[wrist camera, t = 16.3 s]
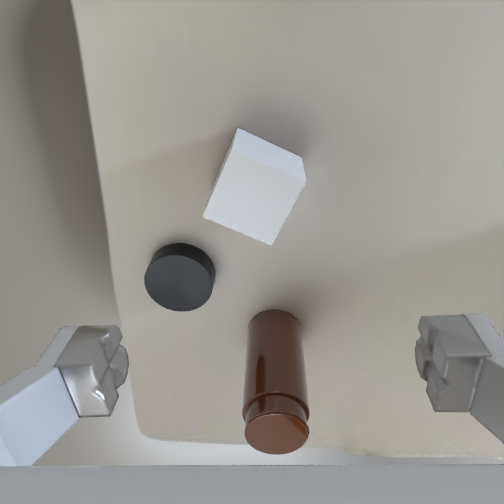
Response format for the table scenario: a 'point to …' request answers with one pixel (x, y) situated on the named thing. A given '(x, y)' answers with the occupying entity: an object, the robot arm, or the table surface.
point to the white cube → (255, 187)
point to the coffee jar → (275, 384)
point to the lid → (180, 277)
